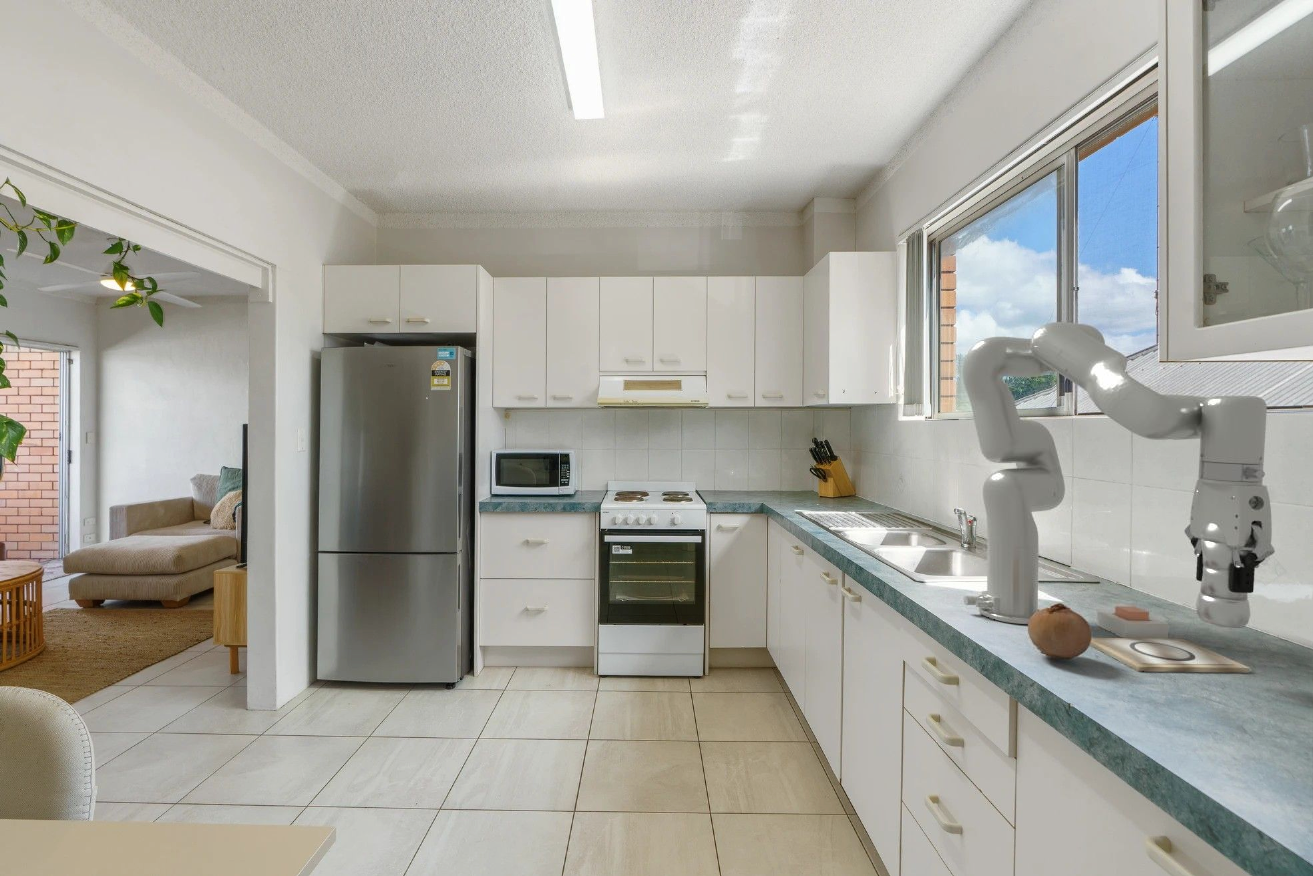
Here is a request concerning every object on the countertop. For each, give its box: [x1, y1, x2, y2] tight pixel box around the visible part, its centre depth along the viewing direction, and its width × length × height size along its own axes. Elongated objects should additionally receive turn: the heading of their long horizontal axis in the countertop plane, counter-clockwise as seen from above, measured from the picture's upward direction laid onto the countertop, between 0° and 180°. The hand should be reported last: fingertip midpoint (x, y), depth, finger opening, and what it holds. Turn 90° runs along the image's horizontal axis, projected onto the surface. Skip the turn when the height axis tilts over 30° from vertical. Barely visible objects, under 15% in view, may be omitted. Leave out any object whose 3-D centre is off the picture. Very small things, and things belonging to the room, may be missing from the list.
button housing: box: [1096, 610, 1169, 639], centre depth 124 cm, size 8×8×3 cm
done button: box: [1114, 605, 1150, 621], centre depth 124 cm, size 4×4×3 cm
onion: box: [1027, 602, 1093, 661], centre depth 109 cm, size 10×9×10 cm
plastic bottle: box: [1195, 523, 1251, 629], centre depth 100 cm, size 6×7×20 cm
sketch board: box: [1089, 637, 1251, 674], centre depth 111 cm, size 18×14×1 cm
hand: (1223, 585), depth 100 cm, fingers closed on plastic bottle, 5 cm apart
